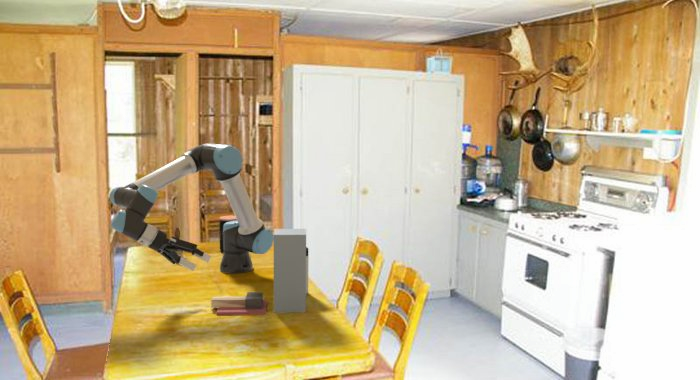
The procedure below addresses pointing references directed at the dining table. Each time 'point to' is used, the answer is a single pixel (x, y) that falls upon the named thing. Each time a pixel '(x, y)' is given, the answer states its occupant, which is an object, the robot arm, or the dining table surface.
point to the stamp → (240, 301)
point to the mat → (241, 310)
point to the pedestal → (289, 270)
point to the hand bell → (177, 235)
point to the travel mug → (306, 271)
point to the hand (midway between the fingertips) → (202, 263)
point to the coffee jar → (222, 221)
